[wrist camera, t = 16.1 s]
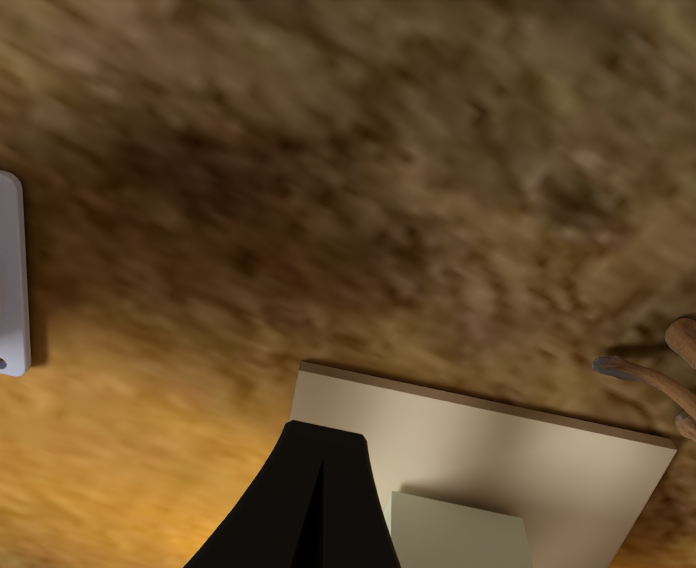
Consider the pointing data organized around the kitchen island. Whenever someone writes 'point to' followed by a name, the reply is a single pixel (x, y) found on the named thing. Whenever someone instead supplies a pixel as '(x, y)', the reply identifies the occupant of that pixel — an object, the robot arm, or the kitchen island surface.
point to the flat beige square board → (495, 459)
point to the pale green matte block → (454, 535)
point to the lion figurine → (692, 345)
